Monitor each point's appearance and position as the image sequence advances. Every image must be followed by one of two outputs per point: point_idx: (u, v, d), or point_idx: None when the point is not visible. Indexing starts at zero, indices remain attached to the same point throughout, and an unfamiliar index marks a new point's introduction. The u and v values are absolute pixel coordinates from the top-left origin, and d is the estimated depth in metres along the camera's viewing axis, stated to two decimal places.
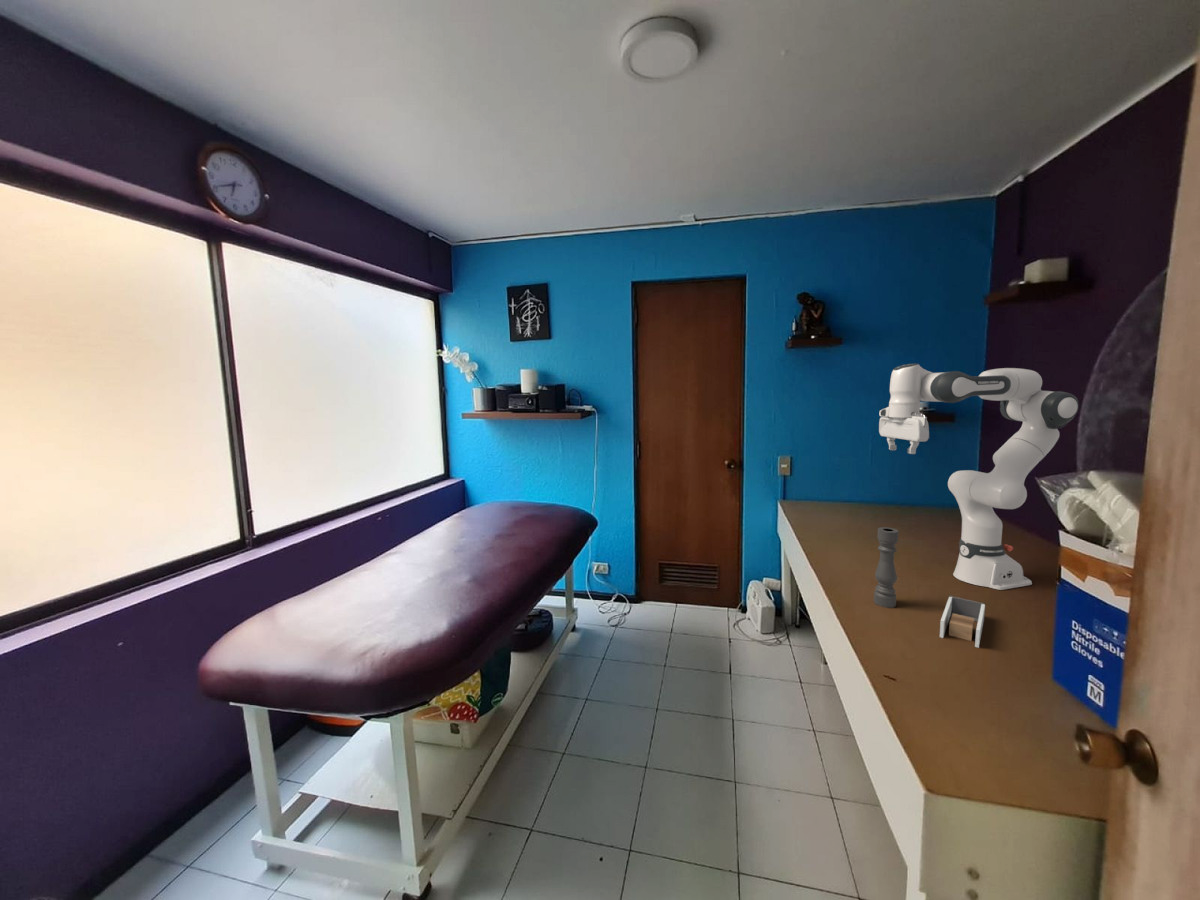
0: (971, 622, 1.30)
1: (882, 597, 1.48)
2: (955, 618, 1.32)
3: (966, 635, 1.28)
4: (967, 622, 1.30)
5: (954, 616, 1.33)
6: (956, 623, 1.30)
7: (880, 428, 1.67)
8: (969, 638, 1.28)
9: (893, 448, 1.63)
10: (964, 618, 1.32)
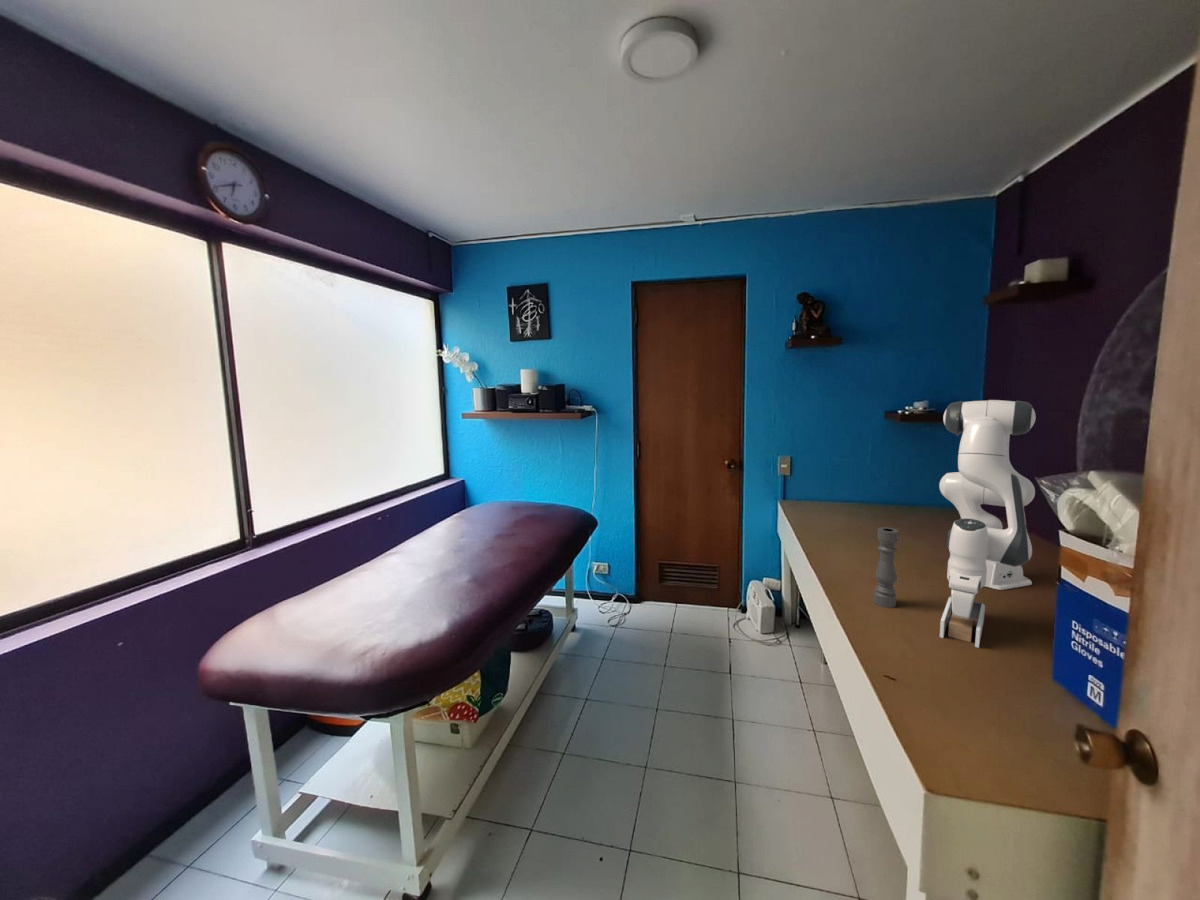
0: (970, 623, 1.29)
1: (882, 597, 1.48)
2: (955, 619, 1.31)
3: (965, 636, 1.27)
4: (966, 622, 1.29)
5: (954, 617, 1.33)
6: (956, 624, 1.29)
7: None
8: (968, 639, 1.27)
9: None
10: (963, 618, 1.32)
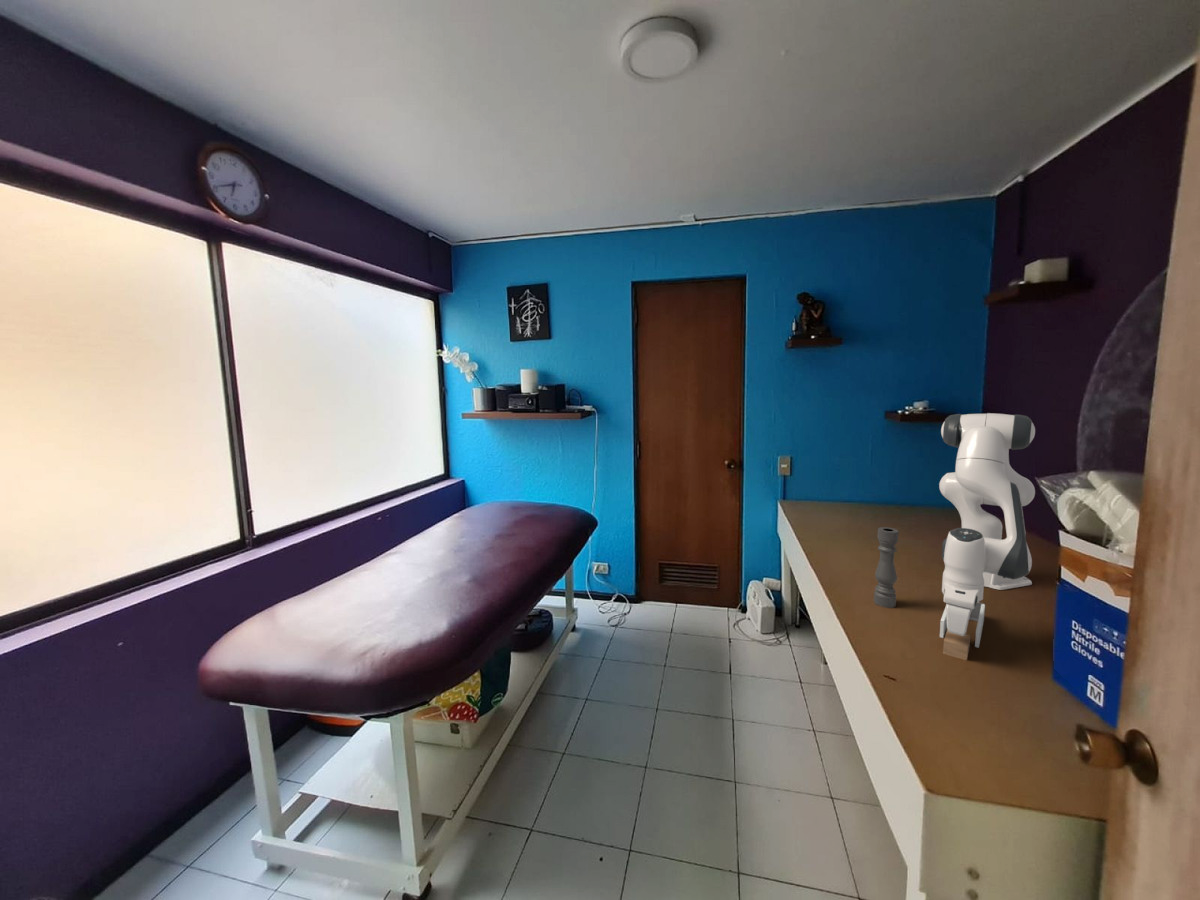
0: (967, 640, 1.21)
1: (882, 597, 1.48)
2: (950, 636, 1.23)
3: (961, 655, 1.19)
4: (962, 640, 1.21)
5: (949, 633, 1.25)
6: (951, 641, 1.21)
7: None
8: (964, 657, 1.19)
9: None
10: (959, 635, 1.24)
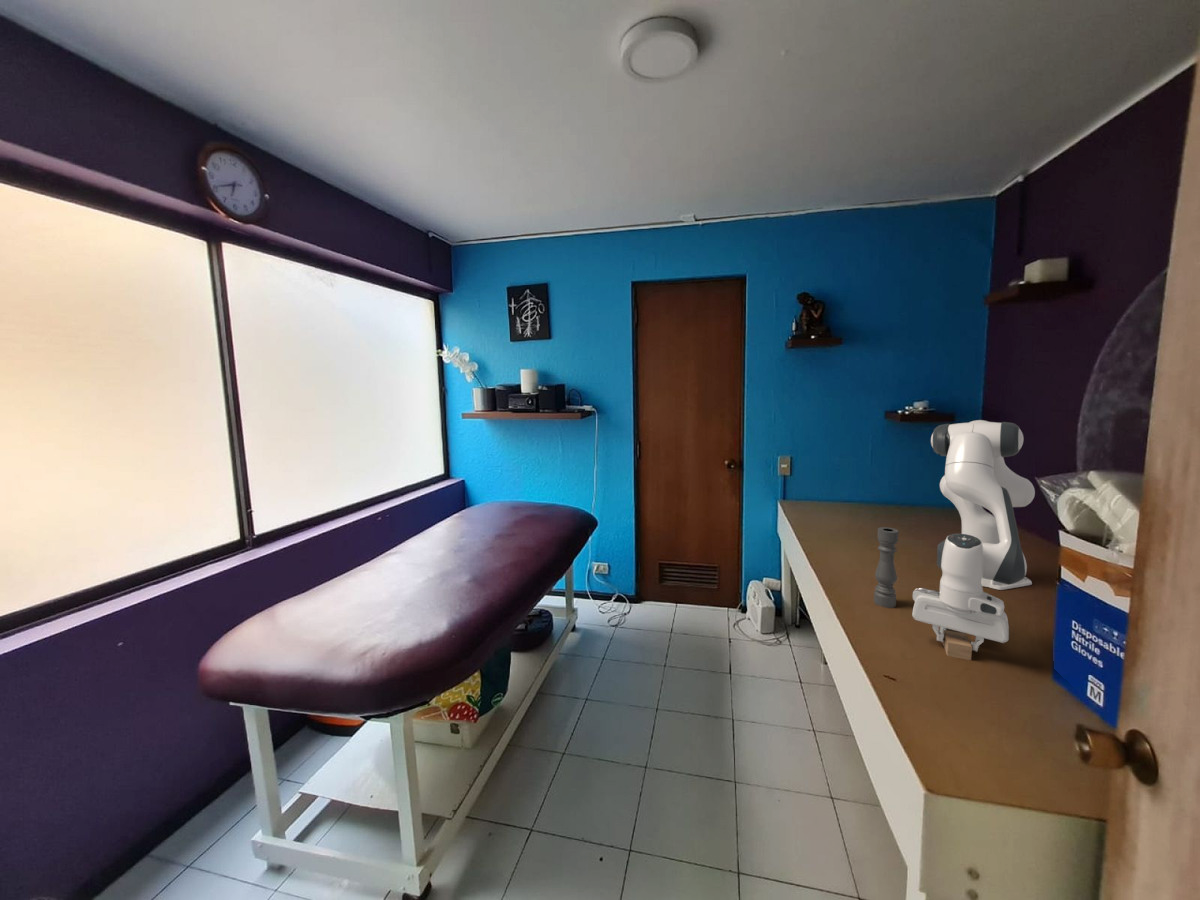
0: (966, 639, 1.22)
1: (882, 597, 1.48)
2: (950, 636, 1.23)
3: (965, 655, 1.19)
4: (962, 639, 1.22)
5: (947, 633, 1.25)
6: (955, 642, 1.20)
7: None
8: (969, 657, 1.19)
9: None
10: (956, 634, 1.24)
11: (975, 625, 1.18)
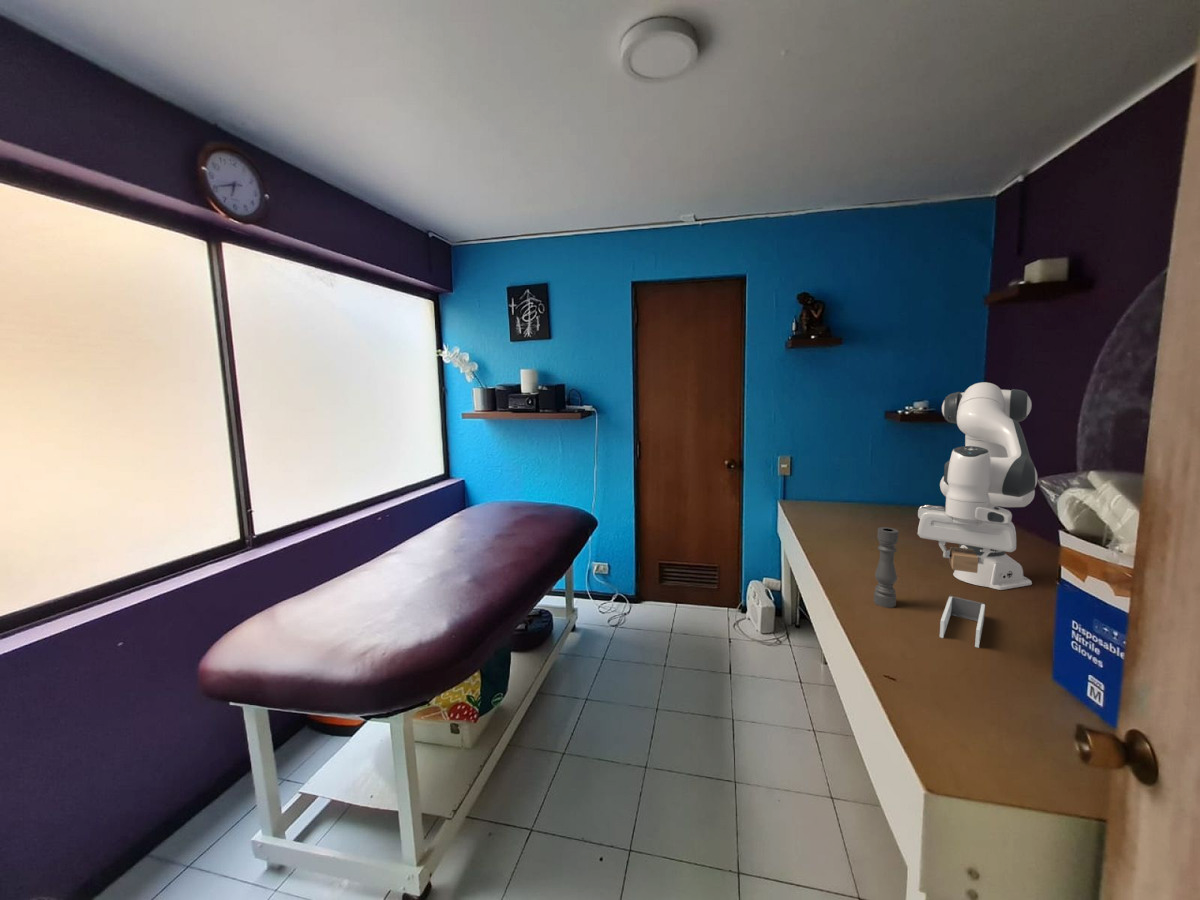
0: (973, 553, 1.20)
1: (882, 597, 1.48)
2: (956, 551, 1.21)
3: (971, 567, 1.17)
4: (969, 553, 1.19)
5: (954, 549, 1.23)
6: (961, 555, 1.18)
7: None
8: (975, 569, 1.17)
9: None
10: (963, 549, 1.22)
11: (981, 536, 1.16)
